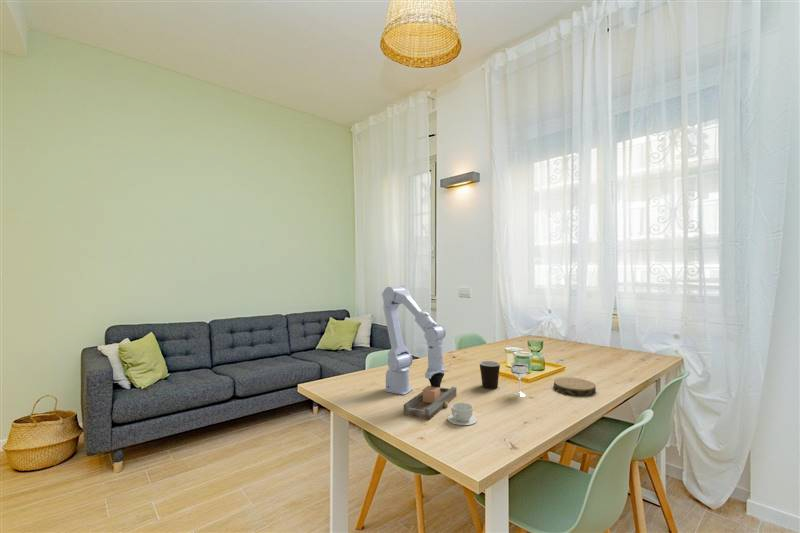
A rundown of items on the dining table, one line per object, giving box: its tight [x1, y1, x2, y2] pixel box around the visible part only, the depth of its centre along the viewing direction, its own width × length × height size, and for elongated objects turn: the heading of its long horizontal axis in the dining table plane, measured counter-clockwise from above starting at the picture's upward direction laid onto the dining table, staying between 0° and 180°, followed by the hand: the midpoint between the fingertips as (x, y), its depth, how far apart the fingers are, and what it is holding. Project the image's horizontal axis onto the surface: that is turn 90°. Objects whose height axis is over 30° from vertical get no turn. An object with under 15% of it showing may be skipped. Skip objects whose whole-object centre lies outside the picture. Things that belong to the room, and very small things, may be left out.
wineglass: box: [510, 361, 529, 397], centre depth 150 cm, size 7×7×12 cm
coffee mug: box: [479, 360, 501, 390], centre depth 161 cm, size 12×9×10 cm
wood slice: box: [553, 376, 597, 397], centre depth 155 cm, size 16×16×3 cm
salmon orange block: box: [422, 385, 440, 403], centre depth 140 cm, size 5×5×4 cm
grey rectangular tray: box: [403, 386, 457, 421], centre depth 140 cm, size 12×26×4 cm, turn 151°
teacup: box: [446, 402, 478, 426], centre depth 126 cm, size 10×10×5 cm
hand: (435, 392), depth 143 cm, fingers closed
